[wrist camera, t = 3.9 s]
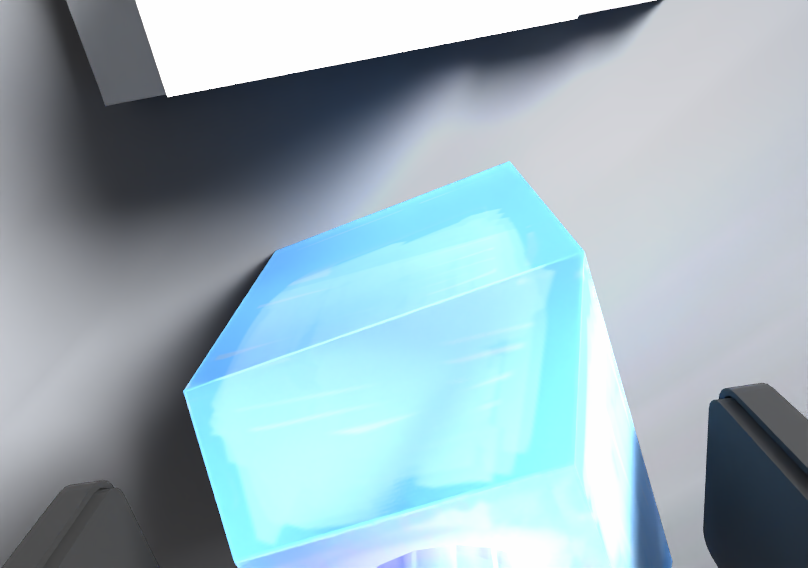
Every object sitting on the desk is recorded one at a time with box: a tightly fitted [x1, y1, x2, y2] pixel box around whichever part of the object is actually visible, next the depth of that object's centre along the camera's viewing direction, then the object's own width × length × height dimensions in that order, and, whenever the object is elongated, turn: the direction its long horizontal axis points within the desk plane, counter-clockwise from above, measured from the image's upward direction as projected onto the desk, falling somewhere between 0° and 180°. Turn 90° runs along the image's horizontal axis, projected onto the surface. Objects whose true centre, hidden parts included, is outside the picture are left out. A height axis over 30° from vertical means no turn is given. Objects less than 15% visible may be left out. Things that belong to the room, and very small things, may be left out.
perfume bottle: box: [183, 161, 672, 568], centre depth 9 cm, size 6×6×12 cm
